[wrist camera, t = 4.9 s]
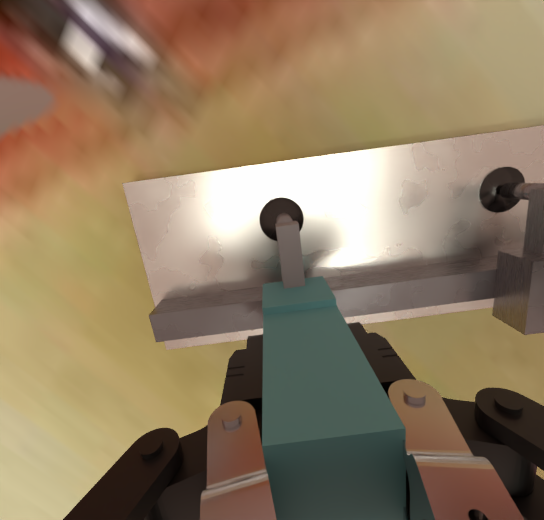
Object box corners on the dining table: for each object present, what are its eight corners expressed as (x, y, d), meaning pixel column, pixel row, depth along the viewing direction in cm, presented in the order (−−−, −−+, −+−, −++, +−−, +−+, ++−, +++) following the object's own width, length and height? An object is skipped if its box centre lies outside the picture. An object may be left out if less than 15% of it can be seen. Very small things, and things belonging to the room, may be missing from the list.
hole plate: (556, 124, 16) (696, 99, 11) (535, 289, 19) (639, 332, 14) (134, 182, 17) (73, 185, 11) (173, 336, 19) (139, 396, 14)
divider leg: (310, 209, 15) (404, 273, 5) (321, 322, 17) (406, 538, 7) (254, 216, 15) (234, 296, 5) (271, 328, 17) (281, 553, 7)
